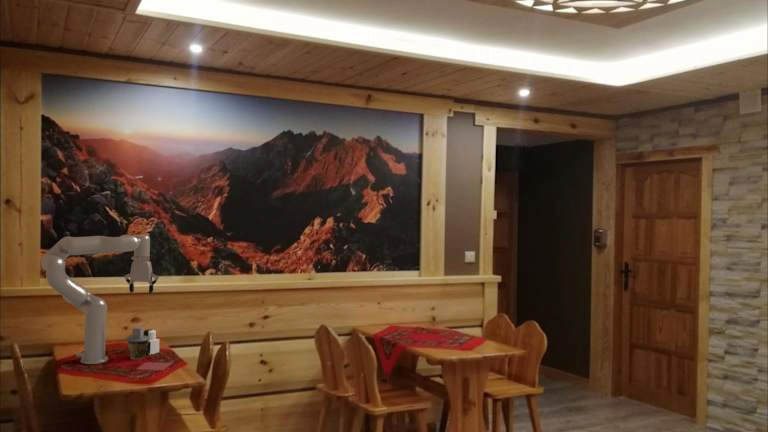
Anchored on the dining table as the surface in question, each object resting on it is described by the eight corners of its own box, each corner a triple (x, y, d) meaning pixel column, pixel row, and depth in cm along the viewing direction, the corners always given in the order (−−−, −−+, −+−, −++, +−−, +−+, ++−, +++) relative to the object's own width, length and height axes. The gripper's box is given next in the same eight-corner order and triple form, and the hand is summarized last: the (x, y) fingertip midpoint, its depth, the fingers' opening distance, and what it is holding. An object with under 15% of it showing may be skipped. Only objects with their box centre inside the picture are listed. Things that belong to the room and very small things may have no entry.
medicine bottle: (139, 353, 351) (139, 330, 351) (148, 350, 358) (149, 328, 357) (150, 355, 348) (150, 332, 348) (159, 352, 355) (159, 329, 355)
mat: (136, 370, 320) (136, 369, 320) (145, 363, 333) (145, 362, 333) (163, 371, 320) (163, 370, 320) (172, 364, 333) (172, 363, 333)
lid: (122, 341, 334) (122, 329, 333) (131, 337, 345) (131, 325, 344) (144, 342, 333) (144, 330, 333) (152, 337, 344) (152, 326, 344)
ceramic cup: (128, 356, 344) (128, 337, 344) (149, 356, 347) (149, 336, 346) (125, 363, 332) (125, 342, 331) (146, 362, 334) (147, 342, 334)
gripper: (122, 259, 343) (121, 293, 343) (156, 260, 343) (155, 294, 343) (127, 257, 350) (127, 290, 351) (161, 259, 350) (160, 292, 351)
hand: (141, 292), depth 347 cm, fingers open, 9 cm apart
